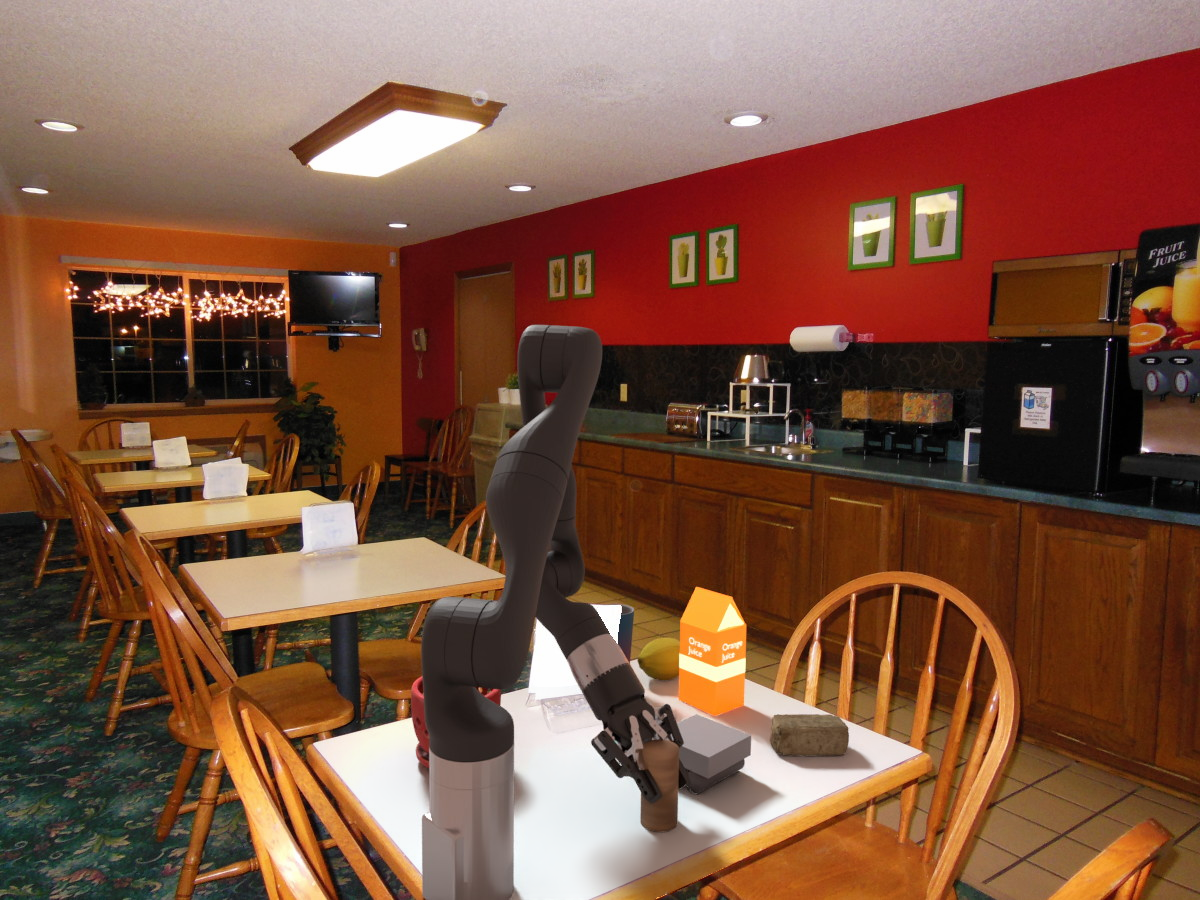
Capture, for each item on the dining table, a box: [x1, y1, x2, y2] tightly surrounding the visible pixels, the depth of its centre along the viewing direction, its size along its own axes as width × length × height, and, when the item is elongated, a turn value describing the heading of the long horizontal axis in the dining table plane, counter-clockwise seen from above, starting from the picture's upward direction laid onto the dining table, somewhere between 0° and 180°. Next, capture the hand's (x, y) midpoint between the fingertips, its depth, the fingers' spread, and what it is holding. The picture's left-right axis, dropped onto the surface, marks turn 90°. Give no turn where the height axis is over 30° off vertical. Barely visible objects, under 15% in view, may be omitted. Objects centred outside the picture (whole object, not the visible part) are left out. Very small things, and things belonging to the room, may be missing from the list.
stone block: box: [769, 713, 850, 757], centre depth 128 cm, size 6×12×5 cm, turn 92°
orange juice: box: [678, 586, 747, 717], centre depth 145 cm, size 8×9×20 cm
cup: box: [606, 603, 635, 664], centre depth 151 cm, size 7×7×15 cm
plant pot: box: [410, 675, 502, 769], centre depth 123 cm, size 13×13×12 cm
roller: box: [639, 739, 679, 833], centre depth 107 cm, size 5×5×10 cm
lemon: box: [637, 637, 680, 682], centre depth 156 cm, size 11×8×8 cm
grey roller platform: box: [653, 713, 752, 794], centre depth 119 cm, size 10×10×6 cm
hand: (670, 792), depth 105 cm, fingers closed on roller, 4 cm apart
